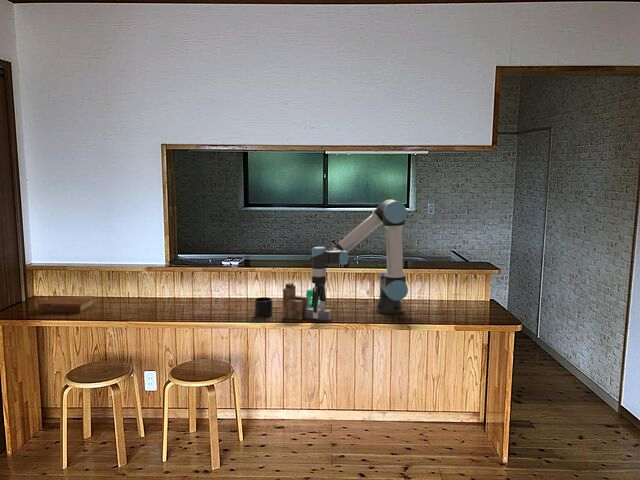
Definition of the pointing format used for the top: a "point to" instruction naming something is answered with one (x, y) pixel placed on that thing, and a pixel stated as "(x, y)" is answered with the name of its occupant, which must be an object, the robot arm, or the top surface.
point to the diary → (66, 304)
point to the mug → (263, 307)
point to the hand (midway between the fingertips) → (318, 315)
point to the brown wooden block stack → (293, 303)
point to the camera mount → (309, 295)
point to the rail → (322, 314)
